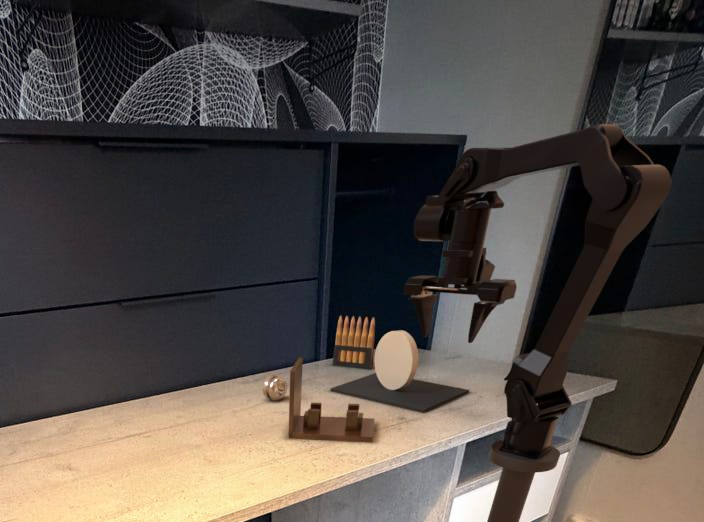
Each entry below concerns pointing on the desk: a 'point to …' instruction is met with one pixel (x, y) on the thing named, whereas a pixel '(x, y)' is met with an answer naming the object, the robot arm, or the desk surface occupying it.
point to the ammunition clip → (354, 344)
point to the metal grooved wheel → (274, 388)
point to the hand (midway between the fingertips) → (447, 339)
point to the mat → (401, 393)
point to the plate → (396, 359)
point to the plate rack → (324, 426)
